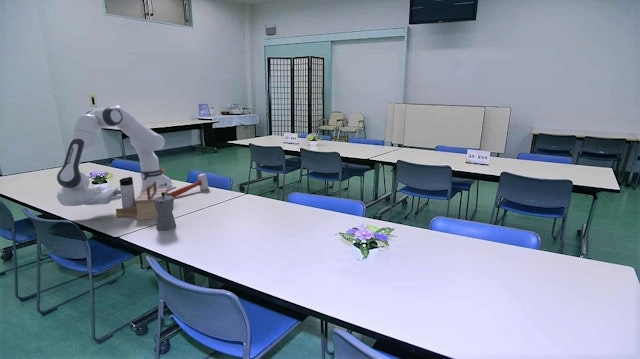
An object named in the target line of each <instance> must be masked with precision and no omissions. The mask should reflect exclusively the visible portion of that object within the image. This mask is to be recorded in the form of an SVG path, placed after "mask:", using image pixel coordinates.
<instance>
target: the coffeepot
mask: <svg viewBox="0 0 640 359" xmlns="http://www.w3.org/2000/svg"><path fill="white" fill-rule="evenodd" d="M167 193H168V192H167ZM167 193H165V192H162V193H161V194H162V196H158V197H156V198H154V199H153V201H154V204H155V208H156V211H157V213H158V215H157V218H156V225H155V228H156V230H158V231H165V232H166V231H170V230H173V229H175V228H176V227H177V224H176V219H175V217H174V216H175V215H174V214H173V211H174V200H175V197H173V196H168V194H167Z"/></svg>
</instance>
